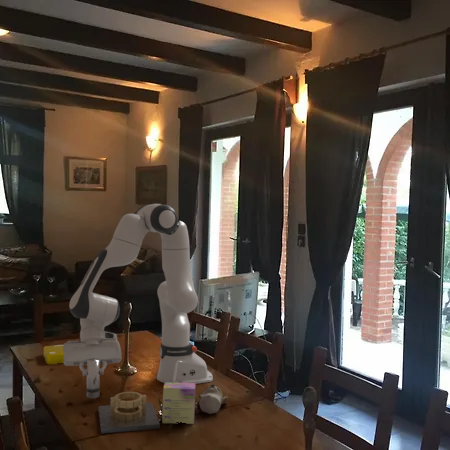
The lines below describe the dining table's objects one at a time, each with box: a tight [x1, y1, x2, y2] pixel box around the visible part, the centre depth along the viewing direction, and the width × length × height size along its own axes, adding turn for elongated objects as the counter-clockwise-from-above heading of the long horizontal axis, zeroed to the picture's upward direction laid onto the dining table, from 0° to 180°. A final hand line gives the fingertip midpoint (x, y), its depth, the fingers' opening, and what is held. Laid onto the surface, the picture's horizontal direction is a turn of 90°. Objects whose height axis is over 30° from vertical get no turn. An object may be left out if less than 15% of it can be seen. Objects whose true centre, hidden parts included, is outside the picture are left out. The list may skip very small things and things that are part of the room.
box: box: [161, 382, 196, 425], centre depth 175 cm, size 10×6×12 cm, turn 92°
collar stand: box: [98, 391, 161, 434], centre depth 174 cm, size 18×18×8 cm
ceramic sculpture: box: [198, 384, 229, 415], centre depth 186 cm, size 11×9×15 cm
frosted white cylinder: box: [85, 358, 101, 399], centre depth 189 cm, size 5×5×13 cm
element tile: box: [43, 344, 65, 365], centre depth 236 cm, size 15×15×5 cm
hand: (93, 374), depth 188 cm, fingers closed on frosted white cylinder, 4 cm apart
